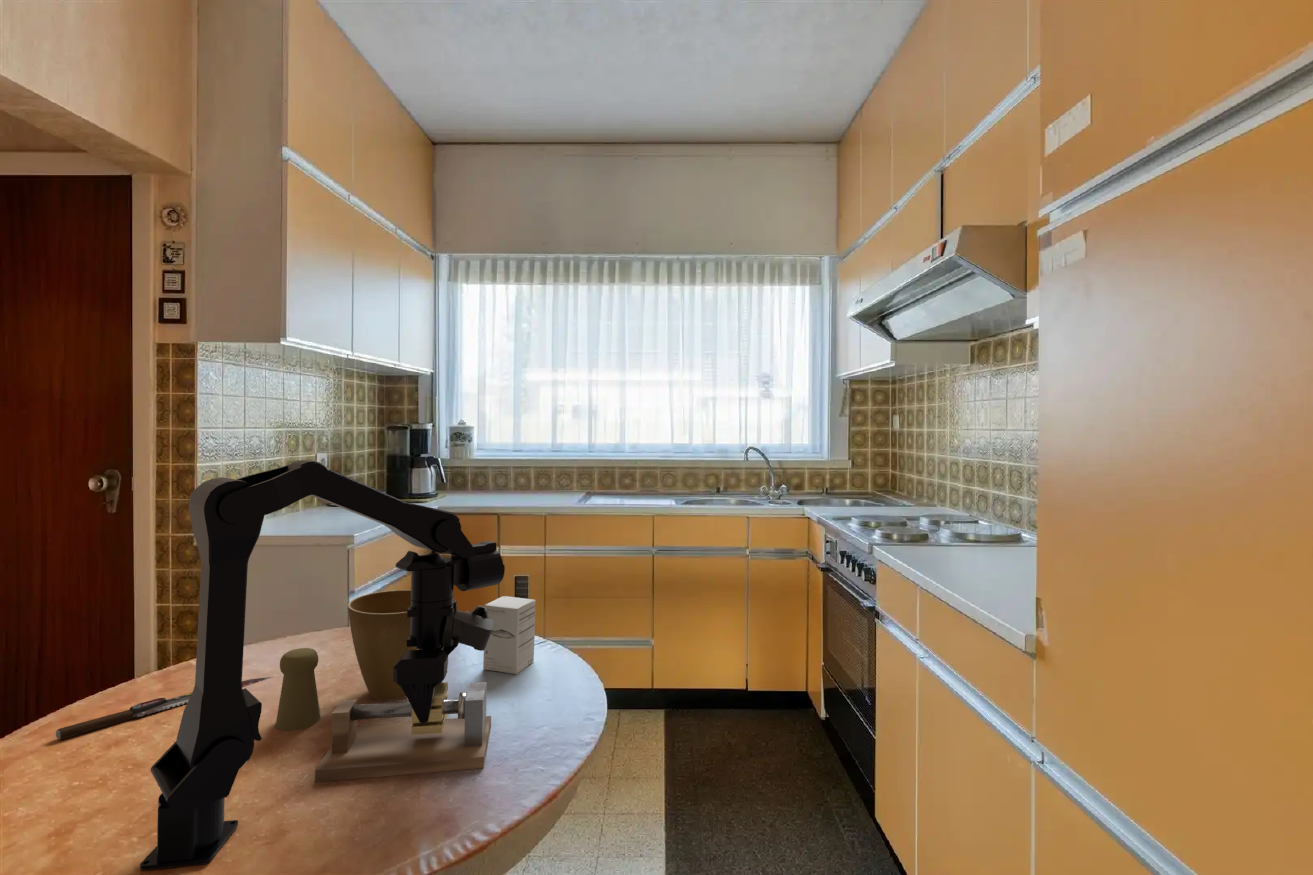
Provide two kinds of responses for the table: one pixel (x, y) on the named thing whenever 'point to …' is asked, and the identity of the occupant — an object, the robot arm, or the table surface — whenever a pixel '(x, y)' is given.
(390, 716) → the bolt
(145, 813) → the table surface
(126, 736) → the table surface
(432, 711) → the nut
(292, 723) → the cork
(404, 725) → the jig
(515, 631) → the supplement box
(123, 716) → the knife
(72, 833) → the table surface
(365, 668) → the plant pot
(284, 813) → the table surface
